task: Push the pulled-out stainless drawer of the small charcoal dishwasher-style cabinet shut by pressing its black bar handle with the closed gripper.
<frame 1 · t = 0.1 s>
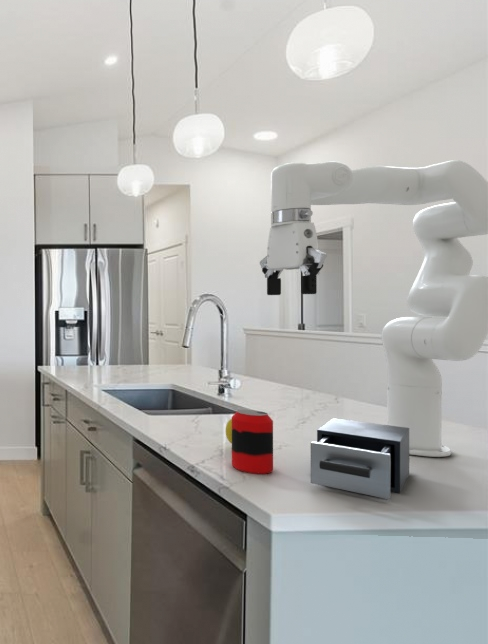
hand: (290, 294, 114), 37 cm above the countertop, tool pointing down, fingers open, 9 cm apart
soda can: (252, 469, 107), on the countertop
lemon: (238, 449, 122), on the countertop
cabinet: (363, 475, 102), on the countertop
drawer: (353, 464, 95), point 5 cm above the countertop, slide at 7.0 cm
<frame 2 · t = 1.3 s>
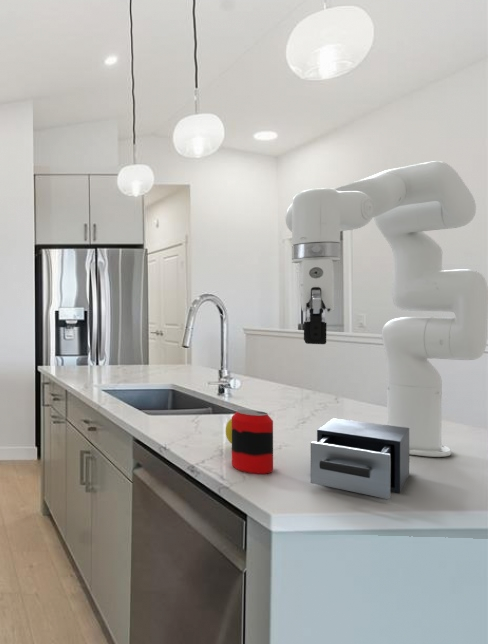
hand: (314, 342, 97), 28 cm above the countertop, tool pointing down, fingers open, 9 cm apart
nothing on the countertop moved.
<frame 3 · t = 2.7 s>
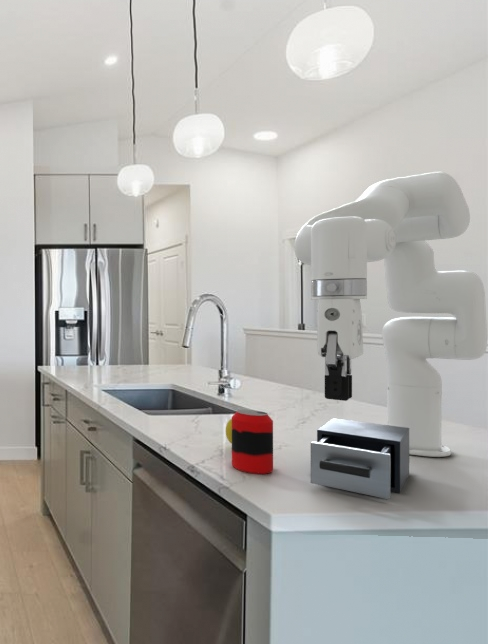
hand: (338, 397, 86), 19 cm above the countertop, tool pointing down, fingers closed
nothing on the countertop moved.
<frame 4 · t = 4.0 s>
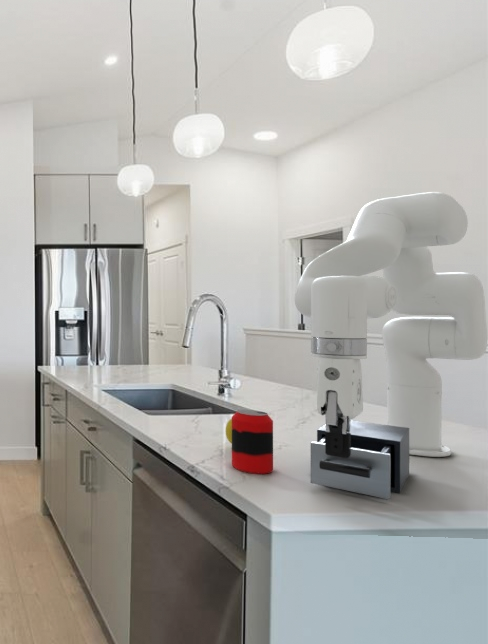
hand: (337, 455, 86), 9 cm above the countertop, tool pointing down, fingers closed
nothing on the countertop moved.
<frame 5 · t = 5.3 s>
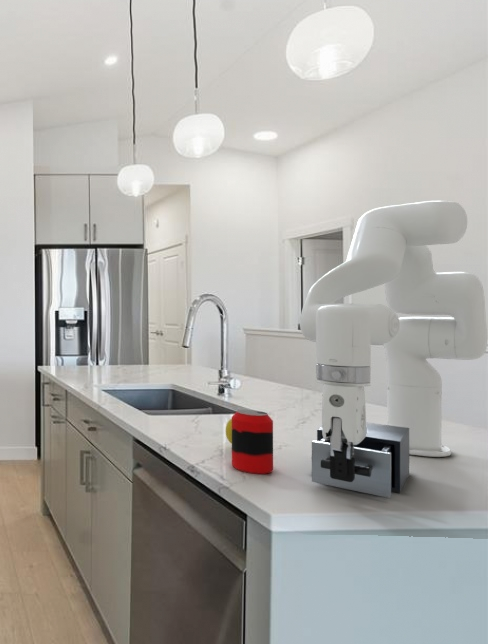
hand: (342, 479, 88), 4 cm above the countertop, tool pointing down, fingers closed
drawer: (353, 463, 95), point 5 cm above the countertop, slide at 6.1 cm, touching gripper
everything else where it was.
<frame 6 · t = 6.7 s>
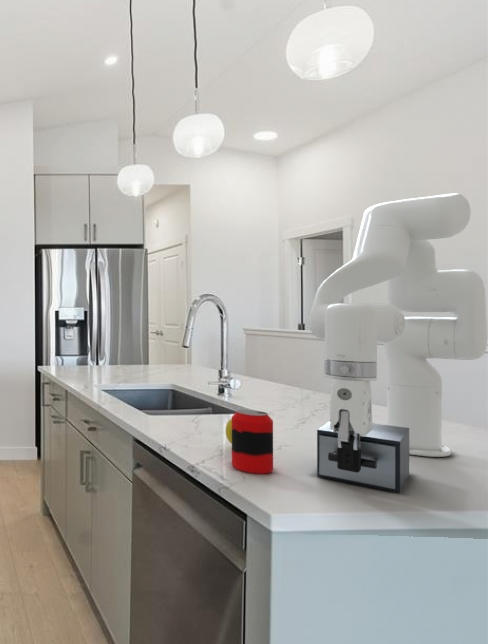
hand: (349, 469, 92), 5 cm above the countertop, tool pointing down, fingers closed
drawer: (359, 456, 99), point 5 cm above the countertop, slide at 0.0 cm, touching cabinet, gripper
everything else where it was.
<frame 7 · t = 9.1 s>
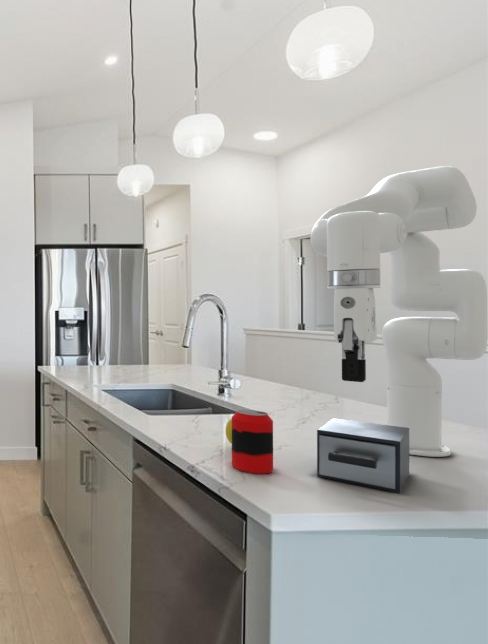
hand: (353, 380, 92), 21 cm above the countertop, tool pointing down, fingers closed
drawer: (359, 456, 99), point 5 cm above the countertop, slide at 0.0 cm, touching cabinet
everything else where it was.
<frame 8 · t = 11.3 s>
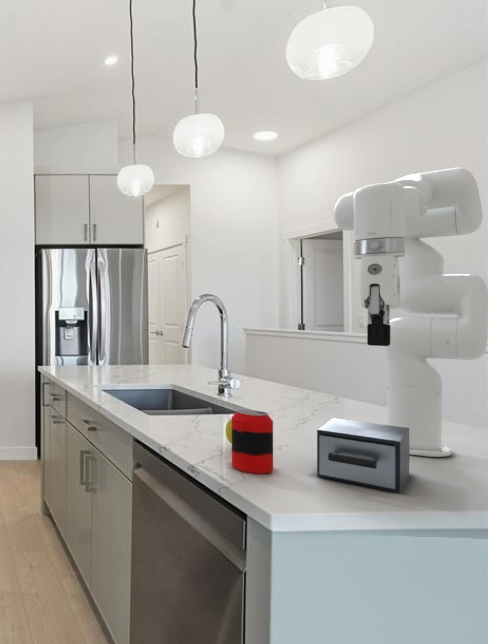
hand: (378, 345, 96), 27 cm above the countertop, tool pointing down, fingers closed
nothing on the countertop moved.
at the end: drawer slide at 0.0 cm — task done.
